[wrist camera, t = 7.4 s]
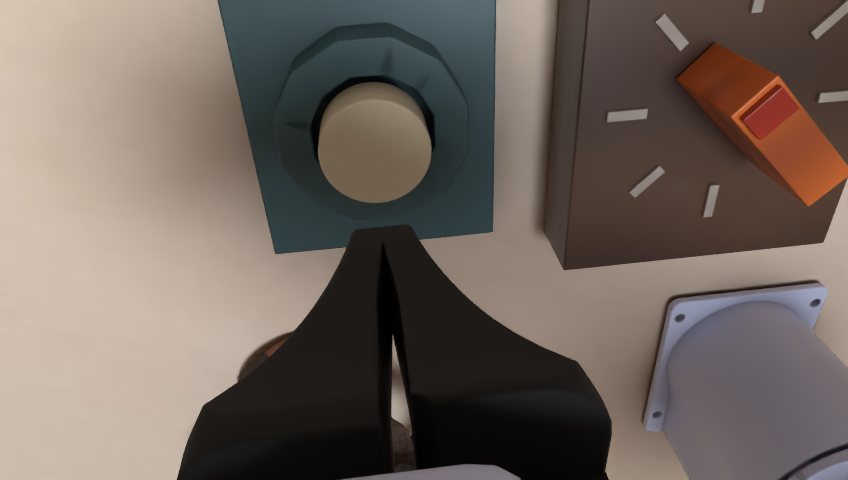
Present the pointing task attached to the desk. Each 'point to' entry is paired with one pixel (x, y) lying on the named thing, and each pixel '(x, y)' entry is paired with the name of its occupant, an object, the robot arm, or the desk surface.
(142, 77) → the desk surface
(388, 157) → the button
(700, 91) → the dial knob
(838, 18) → the dial board
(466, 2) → the button block
